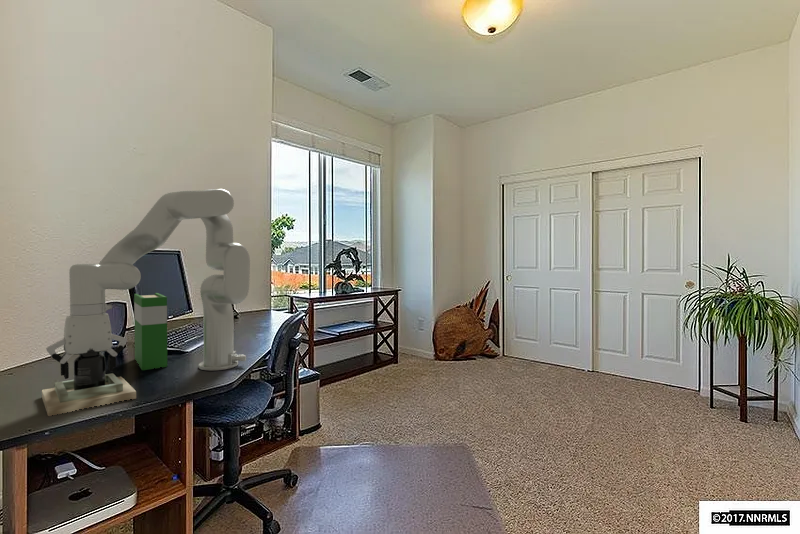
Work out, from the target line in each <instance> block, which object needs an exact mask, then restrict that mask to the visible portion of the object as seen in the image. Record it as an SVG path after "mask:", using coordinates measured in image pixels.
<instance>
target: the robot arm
mask: <svg viewBox="0 0 800 534" xmlns="http://www.w3.org/2000/svg"><path fill="white" fill-rule="evenodd" d="M234 205H235V202H234V197H233V195H232V194H231V193H230V191H228V190H226V189H223V188H215V189H214V188H213V189H201V190H200V189H199V190H182V191H180V190H179V191H174V192H167V193H165V194H163V195H162V196H160V197H159V199H158V200H157V201H156V202H155V203H154V204H153V206H152V207H151V208H150V210H149V211H148V212H147V213H146V215H145V216H144V217H143V218H142V220H140V222H139V223H138V224H137V226H136V227H134V228H133V230H131V231H130V232H128V233H127V235H125V236H123V238H122V239H120V240H119V241H118V242H117V243H116V244H114V245H113V247H111V248H110V250H109V251H107V253H105V255H104V257H103V258H101V260H100V262H99V263H75V264H72V265H71V266H70V268H69V272H68V273H69V313H70V315H68V316H66V318H65V322H64V329H63V338H62V339H60V340H58V341H56V342H55V343H52V344H51V345H49V346H47V347H46V348H45V349H46V351H47V353H48V354H49V355H50V357H51V358H52V359H53V360H55V361H57V362H58V363H60V376H63V378H64V379H65V380H66V379H69V377H70V374H69V373H70V372H69V369H70V368H69V366H70V365H69V363H68V361H69V359H70V358H72V357H73V356H77V355H78V356H79V354H83V353H87V351H88V350H89V349H93V350H95V351H97V352H100V353H101V352H107V353H108V354H109V355H108V356H107V368H108V371H109V372H112V373H113V372H114V368H116V367H117V361H116V360H117V356H118V354H120V352H122V350H124V347H125V345H126V343H127V342H128V339H127V338H126V337H123V336H121V335H117V334H114V333H113V332H112V325H111V321H110V320H111V318H110V316H109V313H107V311H109V310H112V309H113V305H112V304H108V303H107V302H106V290H116V291H117V290H120V291H124V290H130V289H133V288H135V287H136V286H138V284H139V283H140V281H141V278H142V277H141V276H142V275H141V272H140V270H139V268H138V267H137V266H135V265H134V264H135V263H136V262H137V261H138V260H139V259H140V258H142V257H143V256H145V255H147V254H148V253H149V254H150V253H151V252H153V251H155V250H157V249H159V248H160V247H162V246H163V245H165V244H166V242H167V241H168V240H169V238H170V237H171V235H172V234H173V233H174V231H175V230H176V228H177V227H178V226H179V225H180V223H181V222H182V221H183V220H194V219H200V221H202V223H203V224H204V226H205V227H204V228H205V233H206V234H205V236H206V240H205V244H206V245H205V263H206V265H207V266H208V268H209V269H211V270H214V271H220V272H221V271H222V273H223V274H211V275H209V276H206V278H205V279H204V278H203V279H204V280H203V281H202V282H201V284H200V288H199V289H200V298H201V302H202V303H201V304H202V309H203V311H202V312H203V316H202V317H203V361H201V362H199V363H198V368H199V370H202V371H212V372H213V371H222V370H229V369H233V368H234V367H237V366H238V365H239V362H246V361H247V356H246V355H245V354H238V353H237V350H234V347H235V345H234V332H235V331H234V328H235V325H234V322H235V321H234V319H235V318H234V310H233V305H238V304H241V303H243V302H244V301H245V300H246V299H247V297H248V295H249V290H250V280H251V279H250V277H251V275H250V274H251V272H250V271H251V259H250V254H249V251H248V249H247V248H246V247H245V246H244V245H243V244H240V243H238V242H234V228H233V223H232V221H231V219H230V217H229V216H228V214H230V213H231V212H232V210H233V209H234ZM113 341H117V342H119V343H118V345H116V347H114V349H113ZM62 346H63V350H64V353H63V354H62V355H60V354H58V353H57V352H56V350H58V349H59V348H61V347H62Z"/></svg>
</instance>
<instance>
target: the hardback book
mask: <svg viewBox="0 0 800 534" xmlns="http://www.w3.org/2000/svg"><path fill="white" fill-rule="evenodd" d="M133 298H134V300H133V303H134V305H133V306H134V307H133V308H134V312H133V313H134V317H133V318H134V361H135V360H136V361H137V362H136V361H135V362H136V363H138V364H139V365H138V364H137V365H138V366H139V368H140V369H141V371H147V370H153V369H154V368H155V369H161V368H160V367H162V368H167V367H168V296H165V295H164V294H161V293H159V292H155V293H154V294H148V295H147V294H146V295H140V294H138V293H134V296H133Z"/></svg>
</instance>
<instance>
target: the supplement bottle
mask: <svg viewBox="0 0 800 534" xmlns="http://www.w3.org/2000/svg"><path fill="white" fill-rule="evenodd" d="M105 374H106V357H105V355H104V354H102V353H101V352H97V351H95V350H93V349H89V350H88V351H87V353H83V354H79V355H78V356H76V357H75V358H74V360H73V380H74V391H75V390H81V389H86V388H92V387H98V386H103V385H105Z"/></svg>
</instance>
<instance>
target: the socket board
mask: <svg viewBox="0 0 800 534" xmlns="http://www.w3.org/2000/svg"><path fill="white" fill-rule="evenodd" d="M41 398H42V402H43V405H44V408H45V411H46V414H47V416H48V417H53V416H57V414H58V415H63V414H66V413H67V412H68V413H71V412H72V411H73V412H76V411H75V410H77V411H80V410H79V409H82V410H85V409H84V408H87V409H90V408H89V407H92V408H95V407H94V406H97V407H101V406H100V405H102V406H106V405H105V404H107V405H110V403H112V404H115V403H114V402H117V403H120V402H119V401H122V402H125V401H124V400H127V401H131V400H130V399H132V400H137V391H136V390H135V388H134V387H133V386H132V385H130V383H129V382H128V381H127V380H125V378H123V377H122V376H116V375H115V374H114V373H113V372H112V373H107V374H106V373H105V385H103V386H98V387H92V388H86V389H81V390H75V391H74V379H71V380H64V381H56V382H54V387H51V388H45V389H42V390H41ZM62 413H63V414H62ZM52 415H53V416H52Z"/></svg>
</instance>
